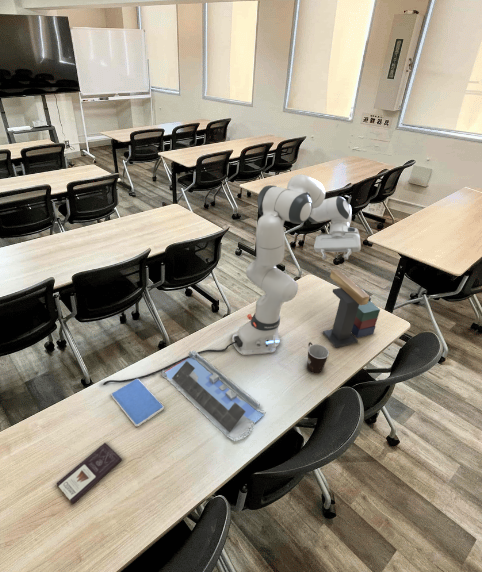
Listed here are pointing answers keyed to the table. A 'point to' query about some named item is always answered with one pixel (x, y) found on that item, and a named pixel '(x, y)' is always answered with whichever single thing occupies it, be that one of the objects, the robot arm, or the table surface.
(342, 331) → the stand
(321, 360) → the coffee mug
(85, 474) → the chocolate bar
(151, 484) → the table surface
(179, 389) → the blue parts tray
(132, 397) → the tablet
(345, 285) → the wooden bar
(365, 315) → the book stack
